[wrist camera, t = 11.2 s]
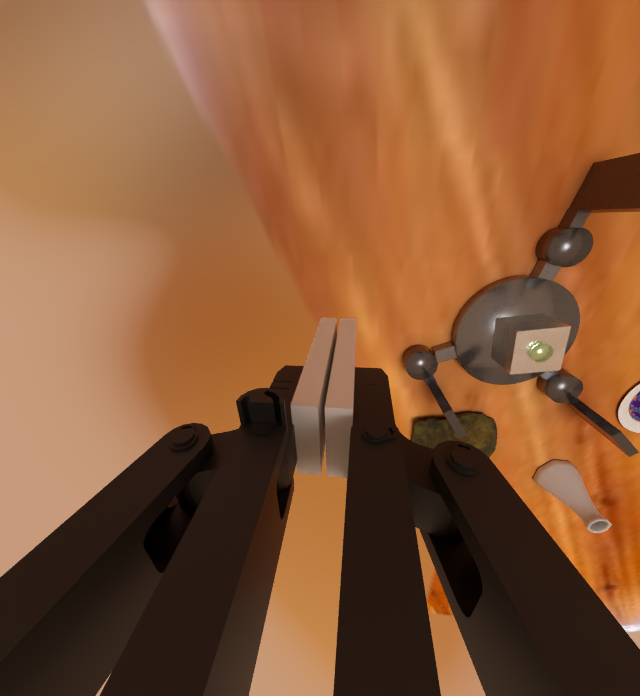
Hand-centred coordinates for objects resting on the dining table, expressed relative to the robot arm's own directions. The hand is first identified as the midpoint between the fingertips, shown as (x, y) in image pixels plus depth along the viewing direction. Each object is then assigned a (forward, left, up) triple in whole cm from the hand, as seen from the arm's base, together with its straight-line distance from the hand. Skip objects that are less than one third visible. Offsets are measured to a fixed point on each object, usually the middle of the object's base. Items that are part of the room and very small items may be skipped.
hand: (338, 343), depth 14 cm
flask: (+43, +35, -27) cm, 62 cm away
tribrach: (+11, +25, -27) cm, 38 cm away
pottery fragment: (+33, +16, -28) cm, 45 cm away
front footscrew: (+19, +12, -27) cm, 35 cm away
